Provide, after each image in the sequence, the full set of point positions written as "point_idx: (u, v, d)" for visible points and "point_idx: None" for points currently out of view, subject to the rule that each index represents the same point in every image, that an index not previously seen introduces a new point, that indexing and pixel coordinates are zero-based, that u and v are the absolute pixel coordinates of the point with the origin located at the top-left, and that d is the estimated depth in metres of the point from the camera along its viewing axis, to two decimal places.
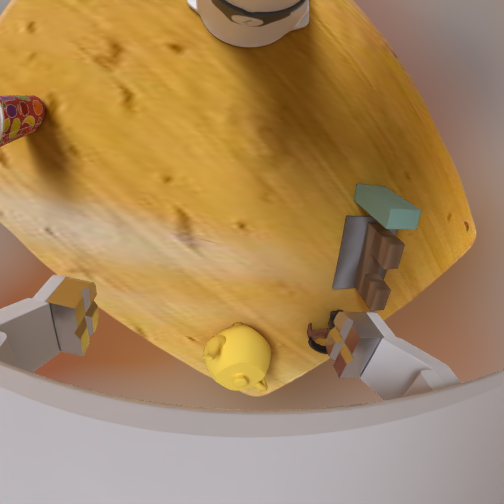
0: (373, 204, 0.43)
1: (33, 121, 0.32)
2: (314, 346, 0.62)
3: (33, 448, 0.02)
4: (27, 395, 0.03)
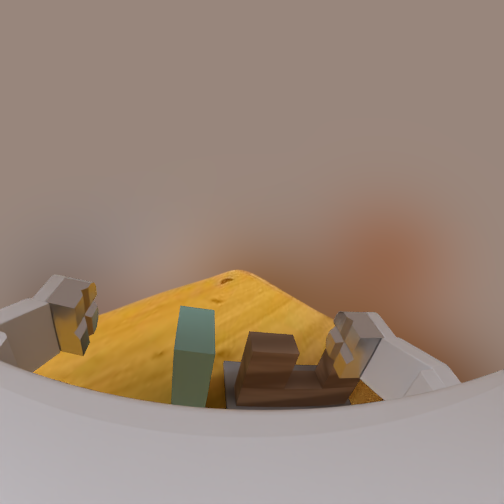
0: (185, 391, 0.23)
1: None
2: None
3: (33, 448, 0.02)
4: (28, 395, 0.03)
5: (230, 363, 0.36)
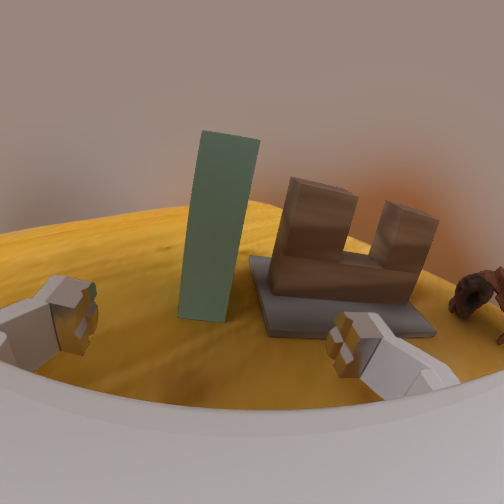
0: (209, 224, 0.17)
1: None
2: None
3: (33, 448, 0.02)
4: (27, 394, 0.03)
5: (258, 257, 0.29)
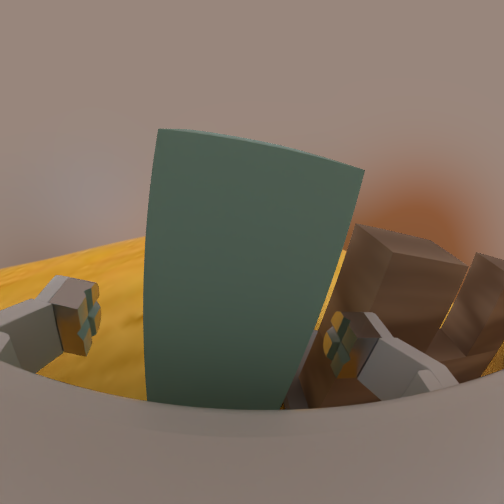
0: (202, 393, 0.06)
1: None
2: None
3: (33, 448, 0.02)
4: (27, 394, 0.03)
5: None
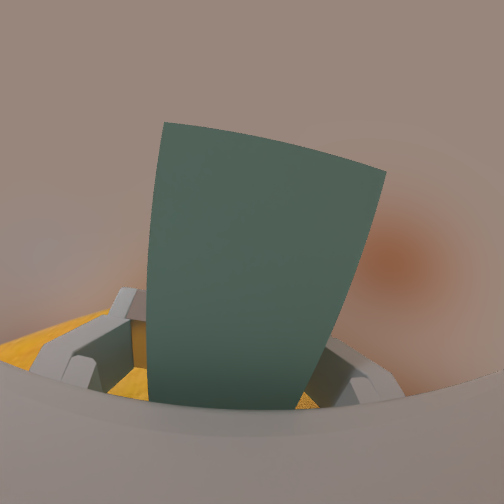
0: (208, 406, 0.05)
1: None
2: None
3: (33, 448, 0.02)
4: (27, 394, 0.03)
5: None
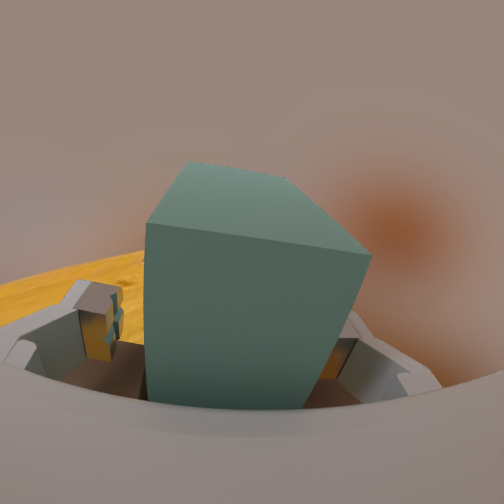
0: None
1: None
2: None
3: (33, 448, 0.02)
4: (27, 395, 0.03)
5: None
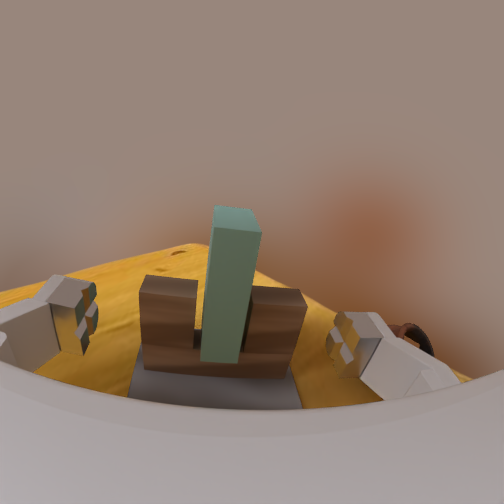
0: (223, 296, 0.21)
1: None
2: None
3: (33, 448, 0.02)
4: (27, 394, 0.03)
5: None
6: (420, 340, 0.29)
